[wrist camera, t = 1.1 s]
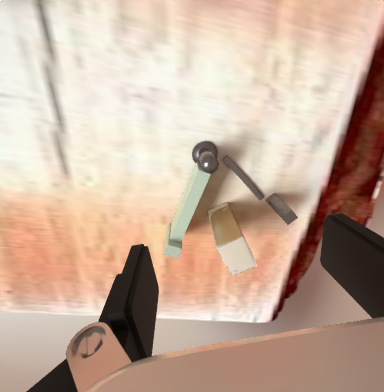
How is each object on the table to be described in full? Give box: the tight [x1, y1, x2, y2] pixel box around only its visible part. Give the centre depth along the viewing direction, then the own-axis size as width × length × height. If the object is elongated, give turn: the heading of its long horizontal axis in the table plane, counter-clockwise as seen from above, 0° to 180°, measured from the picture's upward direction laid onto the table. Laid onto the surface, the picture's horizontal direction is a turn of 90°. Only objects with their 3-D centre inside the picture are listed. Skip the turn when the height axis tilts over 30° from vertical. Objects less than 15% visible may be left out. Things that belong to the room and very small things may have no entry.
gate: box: [164, 162, 211, 259], centre depth 36 cm, size 16×2×7 cm, turn 159°
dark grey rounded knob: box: [192, 141, 219, 173], centre depth 33 cm, size 4×4×8 cm
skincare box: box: [208, 202, 257, 276], centre depth 36 cm, size 6×4×12 cm
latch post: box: [223, 156, 298, 225], centre depth 35 cm, size 3×14×7 cm, turn 44°
